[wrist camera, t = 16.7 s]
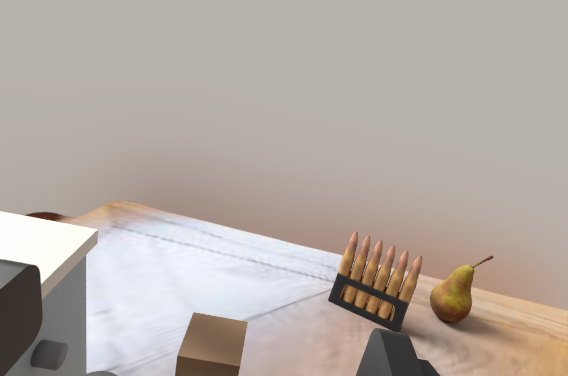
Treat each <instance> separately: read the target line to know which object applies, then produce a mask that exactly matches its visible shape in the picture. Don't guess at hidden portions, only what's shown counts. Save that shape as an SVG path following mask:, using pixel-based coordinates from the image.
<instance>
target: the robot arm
mask: <svg viewBox="0 0 568 376" xmlns="http://www.w3.org/2000/svg"><path fill="white" fill-rule="evenodd" d="M42 320H43V311H42V294H41V277H40V270H39V268H38V267H37V266H36V265H33V264H27V263H22V262H16V261H11V260H5V259H0V376H5V375H6V374H7V372H8V371H9V370H10V369H11V368H12V367H13V366H14V364H15V363H16V362H17V361H18V360H19V359H20V357H21V356H22V355H23V354H24V353H25V352H26V351H27V349H28V348H29V347H30V346H31V345H32V343H33V342H34V340H35V339H36V337H37V335H38V333H39V331H40V328H41V325H42ZM356 376H440V375H439V374H438V373H437V371H436V370H435V369H434V368H433V366H432V365H431V364H430V363H429V362H428V361H427V360H421V359H418V358H417V355H416V353H415V350H414V347H413V345H412V342H411V339H410V337H409V336H408V335H407V334H406V333H401V332H395V331H390V330H384V329H379V328H375V329H374V330H373V331H372V333H371V336H370V338H369V341H368V344H367V346H366V349H365V352H364V355H363V357H362V360H361V363H360V366H359V368H358V371H357V374H356Z"/></svg>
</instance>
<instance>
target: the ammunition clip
mask: <svg viewBox="0 0 568 376" xmlns="http://www.w3.org/2000/svg"><path fill="white" fill-rule="evenodd" d="M357 242H358V232H357V231H356V232H355V233H354V234H353V235H352V237H351V239H350V241H349V244H348V247H347V249H346V252H345V254H344V255H343V258H342V262H341V265H340V268H339V271H338V274H337V277H336V280H335V282H334V285H333V288H332V291H331V293H330V296H329V299H328V300H329V302H332V303H334V304H336V305H338V306H340V307H342V308H345V309H347V310H349V311H351V312H353V313H355V314H358V315H360V316H362V317H364V318H366V319H368V320H371V321H373V322H375V323H377V324H379V325H381V326H383V327H386V328H388V329H390V330H392V331H395V332H399V331H400V328H401V325H402V322H403V319H404V316H405V313H406V311H407V308H408V305H409V303H410V300H411V298H412V295H413V293H414V290H415V288H416V284H417V279H418V276H419V273H420V269H421V265H422V256H419V257H418V258H417V259H416V260H415V262H414V263H413V265H412V267H411V269H410V272H409V273H408V276H407V277H406V279H405V280H404V283H403V285H402V288H401V290H400V287H401V284H402V282H403V277H404V273H405V269H406V266H407V262H408V251H407V250H406V251H405V252H404V253H403V255H402V256H401V258H400V259H399V261H398V263H397V266H396V268H395V270H394V272H393V274H392V275H391V278H390V280H389V277H390V272H391V267H392V263H393V260H394V256H395V246H394V245H393V246H392V247H391V248H390V249H389V251H388V252H387V254H386V256H385V259H384V261H383V263H382V266H381V267H380V269H379V271H378V264H379V261H380V257H381V253H382V245H383V244H382V241H379V242H378V244H377V245H376V247H375V248H374V251H373V253H372V256H371V258H370V260H369V262H368V264H367V266H366V259H367V255H368V251H369V247H370V236H367V237H366V239H365V240H364V242H363V243H362V245H361V248H360V251H359V253H358V256H357V258H356V259H355V261H354V256H355V251H356V247H357ZM353 262H354V265H353ZM352 265H353V268H352ZM365 266H366V269H365ZM351 268H352V271H351ZM364 269H365V271H364ZM377 271H378V273H377ZM363 272H364V274H363ZM376 274H377V276H376ZM362 275H363V277H362ZM375 277H376V279H375ZM374 280H375V282H374ZM388 280H389V283H388V286H387V287H386V285H387V282H388ZM346 285H347V286H346ZM345 288H346V289H345ZM399 290H400V292H399ZM344 291H345V292H344ZM357 291H358V292H357ZM356 294H357V295H356ZM369 294H370V296H369ZM355 297H356V298H355ZM368 297H369V299H368ZM367 300H368V302H367ZM381 300H382V302H381ZM380 302H381V304H380ZM379 305H380V307H379ZM393 306H394V308H393ZM392 308H393V311H392ZM391 311H392V313H391Z"/></svg>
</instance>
